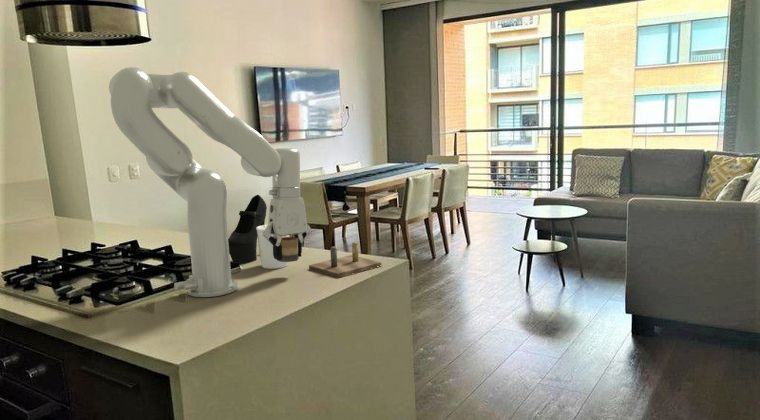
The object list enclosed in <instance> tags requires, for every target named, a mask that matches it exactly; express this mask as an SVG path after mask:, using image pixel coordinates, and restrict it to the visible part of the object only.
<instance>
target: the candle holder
mask: <svg viewBox="0 0 760 420" xmlns="http://www.w3.org/2000/svg"><path fill="white" fill-rule="evenodd" d="M267 226H268V224H264V225H262V226H258V227H257V228H256V230H257V236H258V237H257V245H258V249H259V258H260V263H261V264H260V265H261V267H262V268H264V269H269V270H271V269H282V268H285V267H288V266H289V264H290V262H280V261H277V259H274V256H273V245H272V244H271V243H270V242H269V241H268V240H267V238H265V237H264V236H263V235H262V233H263V231H264V230H265V229H266V227H267ZM270 235H271V236H272V237H273V234H271V233H270ZM282 237H290V235H286V236H282Z"/></svg>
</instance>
